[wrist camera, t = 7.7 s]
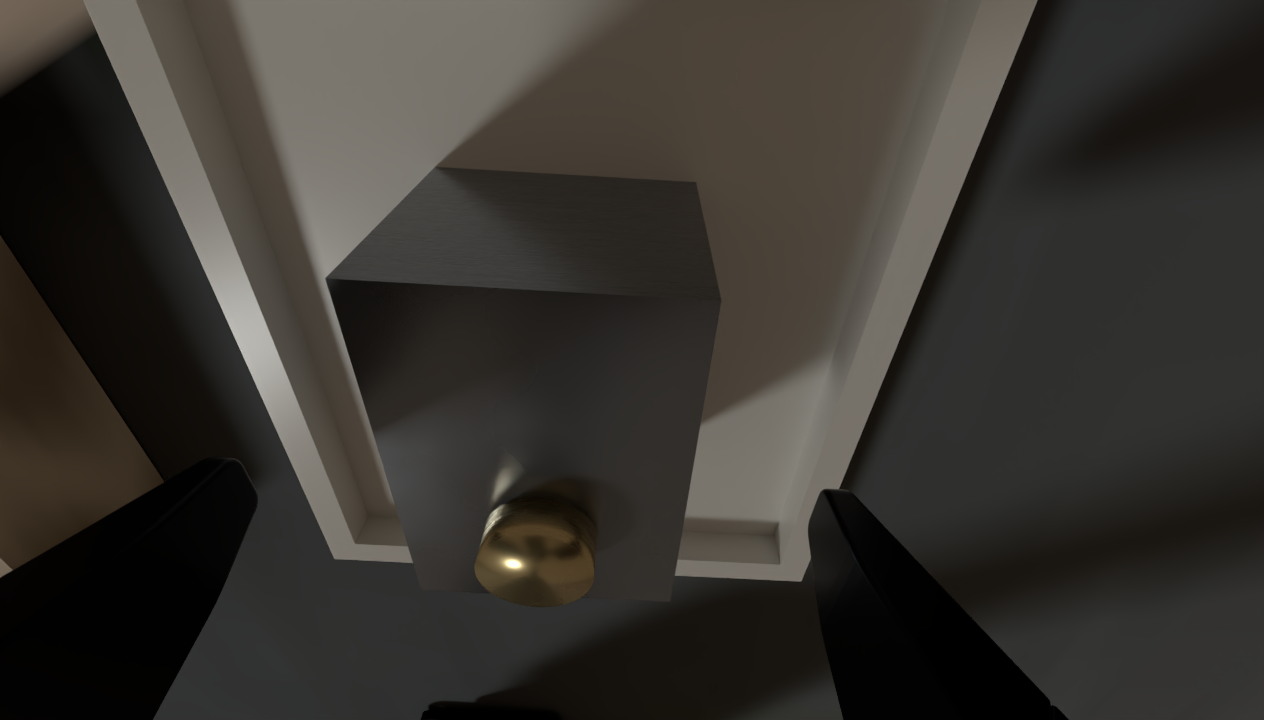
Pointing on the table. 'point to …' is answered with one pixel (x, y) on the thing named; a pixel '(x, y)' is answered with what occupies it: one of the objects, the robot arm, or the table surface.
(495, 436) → the dark grey block
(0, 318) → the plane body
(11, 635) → the robot arm
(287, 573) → the table surface
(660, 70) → the parts tray
